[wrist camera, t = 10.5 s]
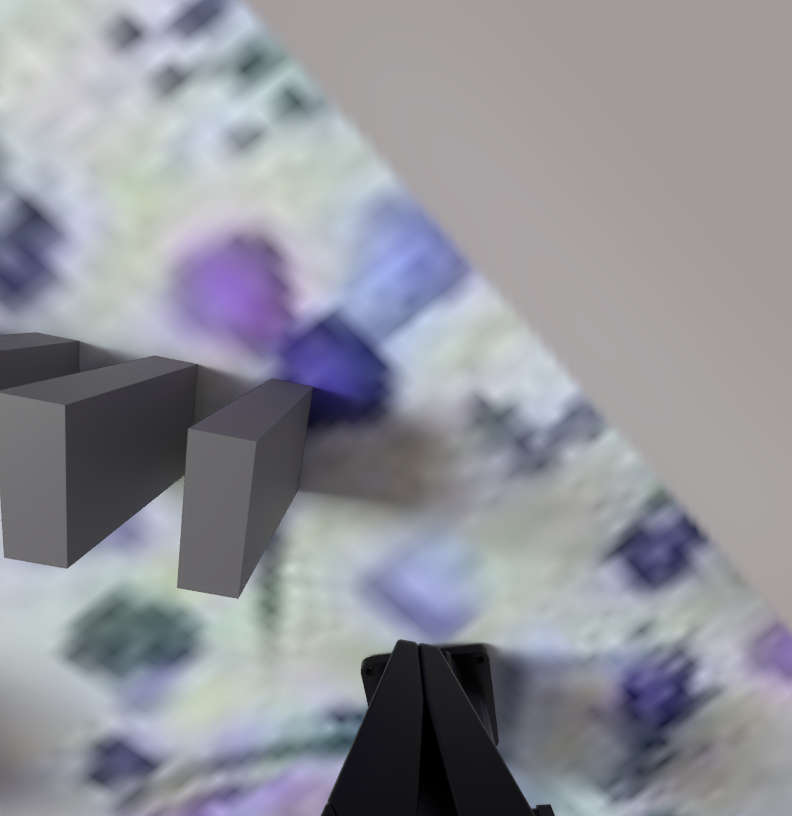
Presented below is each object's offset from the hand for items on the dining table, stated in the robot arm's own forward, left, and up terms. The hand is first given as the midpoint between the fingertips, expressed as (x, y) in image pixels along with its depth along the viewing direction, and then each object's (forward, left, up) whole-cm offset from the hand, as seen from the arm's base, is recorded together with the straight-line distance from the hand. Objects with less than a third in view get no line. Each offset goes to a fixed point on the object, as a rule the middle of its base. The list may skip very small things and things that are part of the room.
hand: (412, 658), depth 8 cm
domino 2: (+4, +10, -10) cm, 15 cm away
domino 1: (+2, +5, -10) cm, 12 cm away
